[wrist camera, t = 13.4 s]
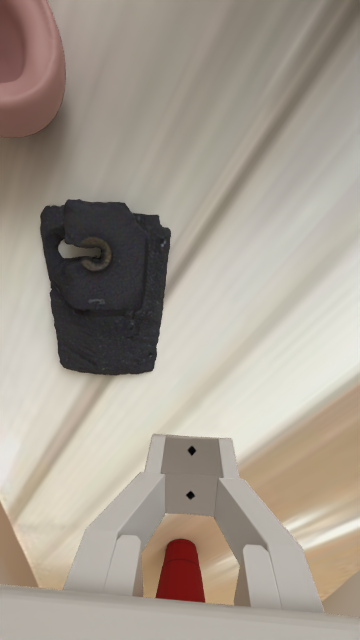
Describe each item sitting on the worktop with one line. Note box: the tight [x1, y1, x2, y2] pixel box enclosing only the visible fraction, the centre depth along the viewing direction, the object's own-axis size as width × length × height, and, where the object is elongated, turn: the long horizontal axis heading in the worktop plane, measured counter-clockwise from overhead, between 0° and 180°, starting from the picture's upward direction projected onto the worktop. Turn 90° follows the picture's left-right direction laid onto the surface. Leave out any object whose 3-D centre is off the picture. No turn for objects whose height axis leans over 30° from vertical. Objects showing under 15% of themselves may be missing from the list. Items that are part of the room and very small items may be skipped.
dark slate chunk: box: [40, 199, 171, 375], centre depth 29 cm, size 15×22×5 cm
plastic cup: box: [156, 539, 205, 603], centre depth 41 cm, size 11×11×12 cm
